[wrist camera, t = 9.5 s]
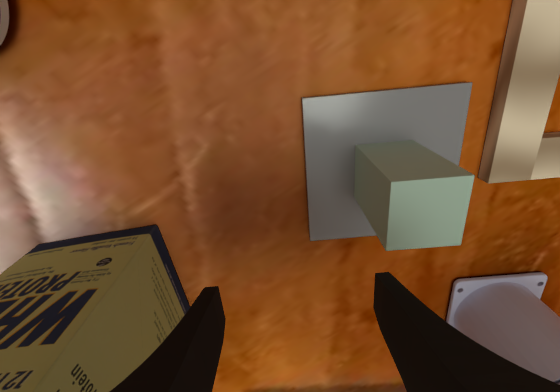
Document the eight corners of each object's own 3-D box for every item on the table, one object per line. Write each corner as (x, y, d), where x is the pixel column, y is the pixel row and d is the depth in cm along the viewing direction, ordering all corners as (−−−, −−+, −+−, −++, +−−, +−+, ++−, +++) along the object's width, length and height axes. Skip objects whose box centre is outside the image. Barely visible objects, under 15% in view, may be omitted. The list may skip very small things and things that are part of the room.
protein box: (156, 220, 24) (-17, 455, 10) (211, 352, 30) (154, 612, 16) (34, 241, 24) (-299, 492, 10) (112, 367, 31) (-26, 629, 17)
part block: (407, 192, 22) (460, 244, 16) (354, 196, 22) (386, 250, 16) (413, 140, 21) (474, 175, 14) (355, 144, 21) (391, 182, 14)
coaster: (444, 225, 24) (448, 229, 24) (309, 236, 25) (310, 240, 24) (466, 81, 20) (472, 82, 19) (301, 97, 20) (302, 98, 20)
